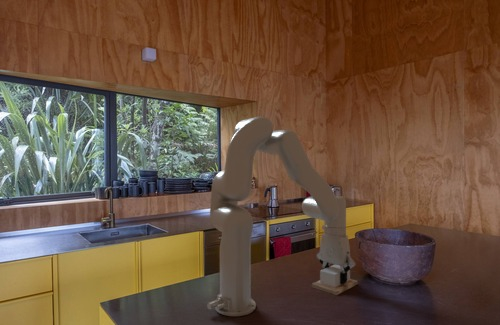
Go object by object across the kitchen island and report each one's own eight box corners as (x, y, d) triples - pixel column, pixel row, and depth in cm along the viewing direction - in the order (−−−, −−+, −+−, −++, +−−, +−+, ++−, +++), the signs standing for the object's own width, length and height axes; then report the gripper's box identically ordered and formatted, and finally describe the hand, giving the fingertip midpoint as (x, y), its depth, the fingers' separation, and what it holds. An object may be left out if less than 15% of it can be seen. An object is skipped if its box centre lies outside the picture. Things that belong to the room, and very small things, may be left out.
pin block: (336, 295, 116) (336, 284, 116) (311, 287, 123) (311, 276, 123) (357, 284, 126) (357, 274, 126) (333, 277, 133) (333, 267, 133)
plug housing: (334, 287, 119) (334, 274, 119) (320, 283, 123) (320, 270, 123) (350, 280, 126) (350, 267, 126) (335, 276, 130) (335, 264, 130)
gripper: (309, 228, 128) (309, 277, 128) (351, 236, 115) (351, 290, 116) (320, 225, 133) (320, 272, 133) (362, 232, 120) (362, 284, 121)
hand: (335, 280), depth 124 cm, fingers closed on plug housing, 6 cm apart
